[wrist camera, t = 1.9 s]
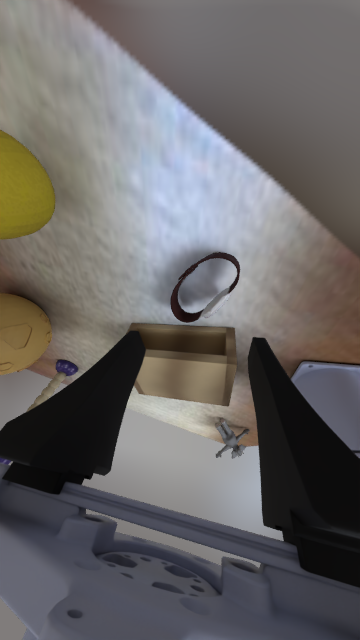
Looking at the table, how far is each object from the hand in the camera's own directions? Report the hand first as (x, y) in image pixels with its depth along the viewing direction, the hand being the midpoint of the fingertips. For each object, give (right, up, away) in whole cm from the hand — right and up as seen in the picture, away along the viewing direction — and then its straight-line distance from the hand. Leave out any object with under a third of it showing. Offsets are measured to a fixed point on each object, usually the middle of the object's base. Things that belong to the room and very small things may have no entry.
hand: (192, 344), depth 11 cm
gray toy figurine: (+11, -24, +31) cm, 41 cm away
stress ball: (-22, +3, +13) cm, 26 cm away
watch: (+1, +5, +6) cm, 8 cm away
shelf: (0, -3, +13) cm, 14 cm away
